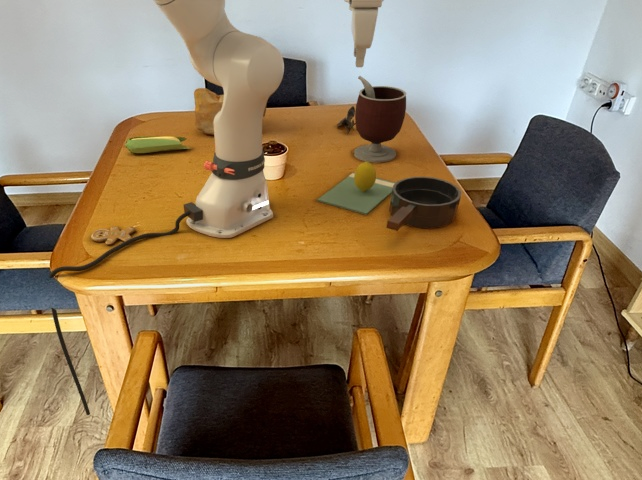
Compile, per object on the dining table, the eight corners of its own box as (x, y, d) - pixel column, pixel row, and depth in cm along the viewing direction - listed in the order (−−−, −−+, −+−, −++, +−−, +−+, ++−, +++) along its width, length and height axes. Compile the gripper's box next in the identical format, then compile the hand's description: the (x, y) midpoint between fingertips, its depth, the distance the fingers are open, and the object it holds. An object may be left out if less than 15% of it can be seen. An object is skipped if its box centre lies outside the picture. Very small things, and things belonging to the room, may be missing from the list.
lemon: (373, 187, 141) (377, 157, 135) (374, 196, 137) (378, 166, 131) (352, 186, 141) (355, 157, 136) (353, 196, 137) (356, 165, 132)
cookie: (131, 241, 121) (87, 242, 121) (132, 245, 122) (88, 246, 122) (136, 223, 128) (94, 225, 127) (136, 227, 128) (95, 228, 128)
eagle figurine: (365, 129, 171) (359, 115, 176) (356, 112, 165) (350, 97, 171) (344, 142, 173) (338, 128, 179) (334, 126, 168) (329, 111, 174)
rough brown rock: (267, 122, 183) (266, 74, 174) (267, 135, 170) (265, 83, 161) (201, 125, 185) (196, 77, 175) (195, 138, 171) (189, 88, 162)
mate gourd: (407, 153, 158) (420, 80, 145) (380, 167, 151) (390, 92, 138) (365, 140, 166) (373, 70, 153) (337, 153, 159) (343, 81, 146)
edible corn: (127, 150, 165) (124, 135, 162) (191, 146, 166) (190, 131, 163) (126, 157, 161) (123, 142, 158) (192, 152, 163) (190, 137, 160)
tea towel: (366, 215, 130) (366, 213, 130) (317, 201, 136) (317, 199, 136) (400, 185, 142) (400, 183, 142) (353, 173, 148) (353, 172, 148)
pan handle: (397, 231, 115) (398, 223, 114) (386, 227, 117) (387, 220, 115) (418, 210, 122) (419, 202, 121) (407, 207, 123) (409, 200, 122)
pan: (441, 235, 122) (446, 211, 118) (378, 218, 129) (381, 194, 125) (464, 209, 131) (470, 186, 127) (404, 194, 138) (408, 171, 134)
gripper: (348, -16, 125) (343, 50, 134) (352, -1, 110) (346, 72, 119) (375, -16, 124) (368, 50, 134) (383, -1, 109) (374, 72, 119)
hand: (358, 61), depth 126 cm, fingers open, 8 cm apart
